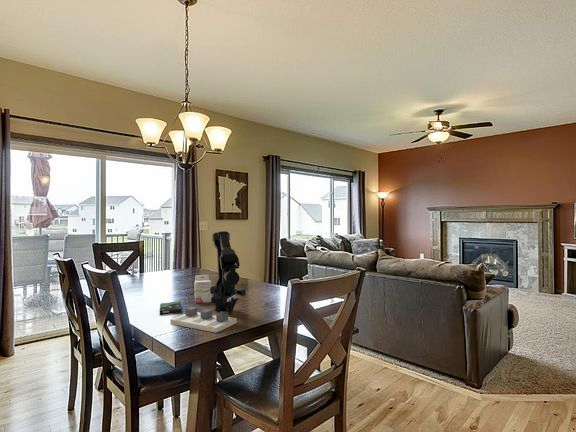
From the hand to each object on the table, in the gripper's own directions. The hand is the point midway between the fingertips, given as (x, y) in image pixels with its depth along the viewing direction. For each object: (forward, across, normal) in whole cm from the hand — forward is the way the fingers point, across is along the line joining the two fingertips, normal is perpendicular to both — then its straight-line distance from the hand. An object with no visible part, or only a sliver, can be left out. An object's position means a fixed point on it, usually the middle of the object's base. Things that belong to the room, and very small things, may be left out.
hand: (229, 314), depth 155 cm
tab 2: (+1, +5, 0) cm, 5 cm away
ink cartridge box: (+3, -22, -35) cm, 42 cm away
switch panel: (+3, +7, -9) cm, 12 cm away
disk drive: (+4, -2, -39) cm, 39 cm away
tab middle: (+1, +5, -9) cm, 10 cm away
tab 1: (+1, +5, -18) cm, 19 cm away
